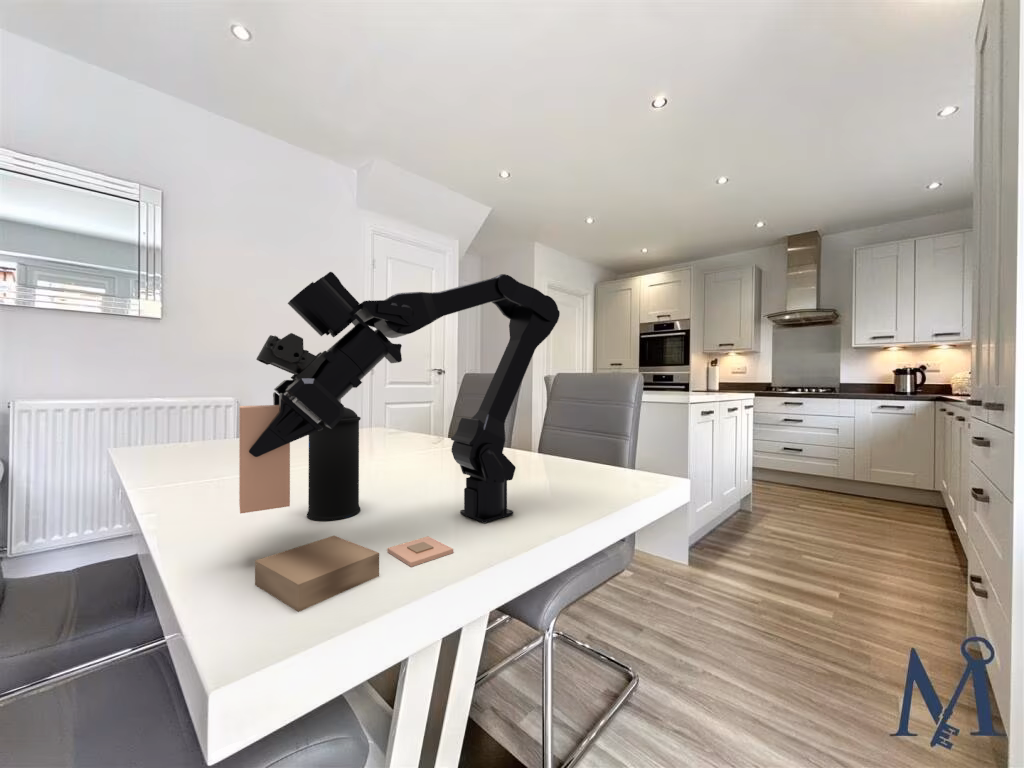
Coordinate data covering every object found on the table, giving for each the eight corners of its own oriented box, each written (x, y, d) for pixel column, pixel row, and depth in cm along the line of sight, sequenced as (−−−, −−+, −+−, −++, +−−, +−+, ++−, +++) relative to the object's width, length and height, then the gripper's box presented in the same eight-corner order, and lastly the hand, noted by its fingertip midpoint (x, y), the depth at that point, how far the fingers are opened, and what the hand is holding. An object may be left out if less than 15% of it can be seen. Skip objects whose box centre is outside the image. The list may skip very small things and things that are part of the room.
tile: (428, 539, 57) (428, 534, 57) (453, 552, 52) (453, 547, 52) (387, 551, 53) (387, 546, 53) (411, 566, 48) (411, 560, 48)
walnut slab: (333, 559, 51) (333, 535, 51) (379, 579, 46) (379, 552, 46) (255, 588, 44) (255, 560, 44) (298, 616, 39) (298, 584, 39)
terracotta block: (285, 497, 54) (285, 404, 54) (289, 506, 50) (289, 406, 50) (239, 503, 51) (239, 406, 51) (240, 513, 47) (240, 407, 47)
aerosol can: (371, 510, 70) (371, 392, 70) (327, 524, 63) (328, 393, 63) (339, 503, 74) (339, 392, 74) (295, 516, 67) (296, 393, 67)
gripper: (291, 325, 60) (196, 402, 54) (312, 304, 45) (182, 409, 39) (348, 379, 65) (266, 456, 58) (385, 377, 49) (279, 482, 43)
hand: (251, 451), depth 49 cm, fingers closed on terracotta block, 5 cm apart
